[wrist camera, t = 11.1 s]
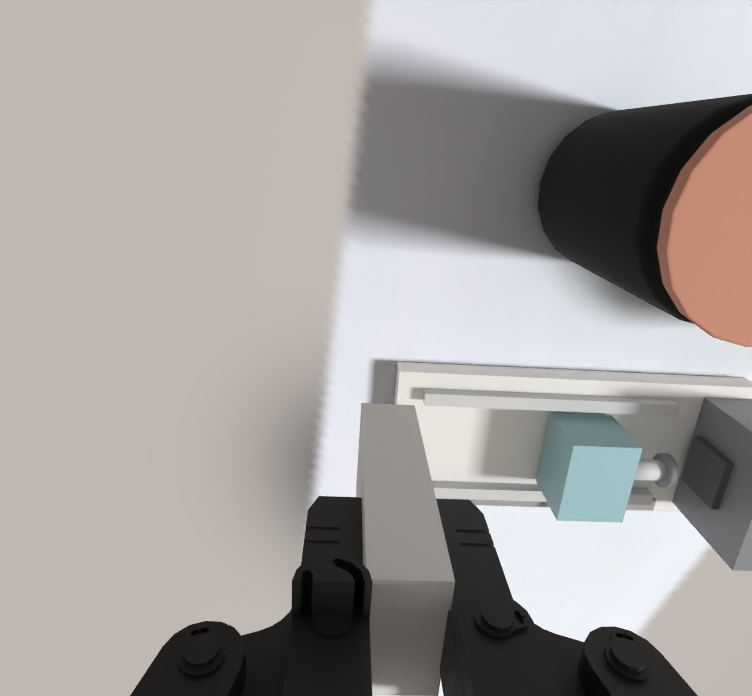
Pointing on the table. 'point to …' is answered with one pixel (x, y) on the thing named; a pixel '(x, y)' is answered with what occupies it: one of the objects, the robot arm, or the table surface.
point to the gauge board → (600, 397)
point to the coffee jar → (662, 208)
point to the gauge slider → (595, 467)
